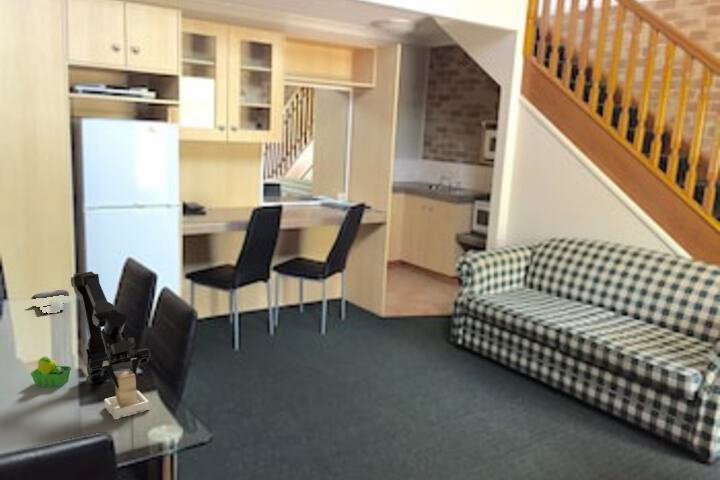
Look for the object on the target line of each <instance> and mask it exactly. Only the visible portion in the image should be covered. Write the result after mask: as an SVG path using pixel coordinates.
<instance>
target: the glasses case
mask: <svg viewBox="0 0 720 480" xmlns="http://www.w3.org/2000/svg"><path fill="white" fill-rule="evenodd" d="M59 295H64V296H69V297H70V293H69V291H67V290H66V289H57V290H50V291H45V292H40V293H36V294H34V295H32V296H31V298H30V300H31V299H36V298H47V297H53V296H59Z"/></svg>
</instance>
